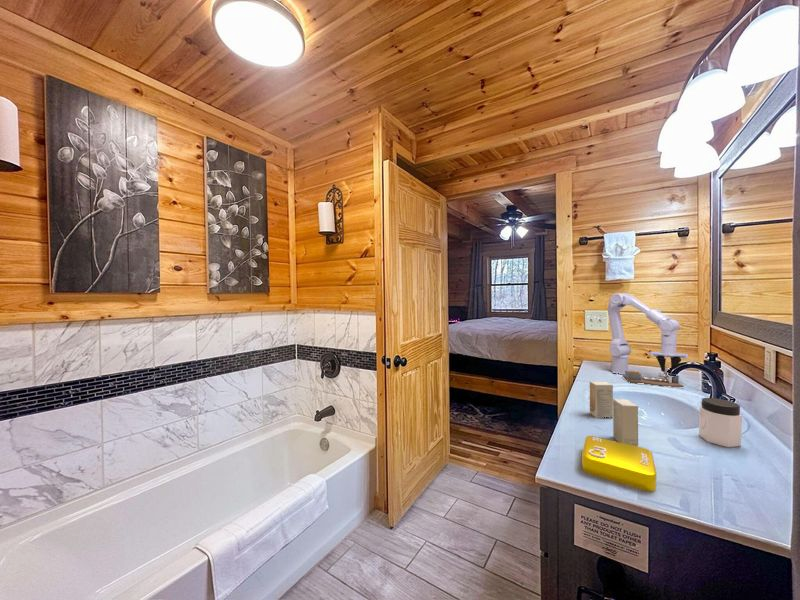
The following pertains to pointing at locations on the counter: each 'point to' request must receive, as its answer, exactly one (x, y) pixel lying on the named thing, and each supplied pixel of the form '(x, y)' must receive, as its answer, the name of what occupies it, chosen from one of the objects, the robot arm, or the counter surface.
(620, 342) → the robot arm
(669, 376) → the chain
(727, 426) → the jar
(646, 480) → the element tile
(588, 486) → the counter surface
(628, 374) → the binder housing
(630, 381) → the board
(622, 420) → the skincare box
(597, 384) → the skincare box
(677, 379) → the keeper hook
